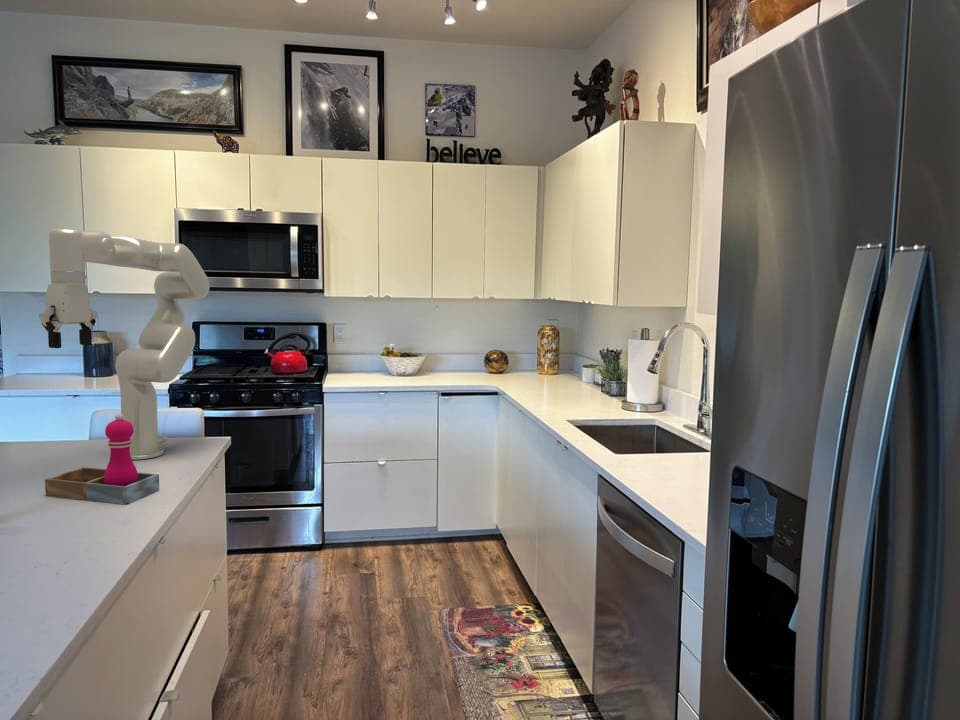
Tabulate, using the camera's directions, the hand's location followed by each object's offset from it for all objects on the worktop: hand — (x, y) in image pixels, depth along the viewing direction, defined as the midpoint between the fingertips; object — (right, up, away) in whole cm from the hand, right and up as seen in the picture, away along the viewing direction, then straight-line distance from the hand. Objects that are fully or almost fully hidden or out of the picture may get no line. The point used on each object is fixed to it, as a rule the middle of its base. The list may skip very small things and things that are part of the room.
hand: (70, 346), depth 170 cm
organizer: (+13, -36, -8) cm, 39 cm away
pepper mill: (+18, -36, -9) cm, 42 cm away
